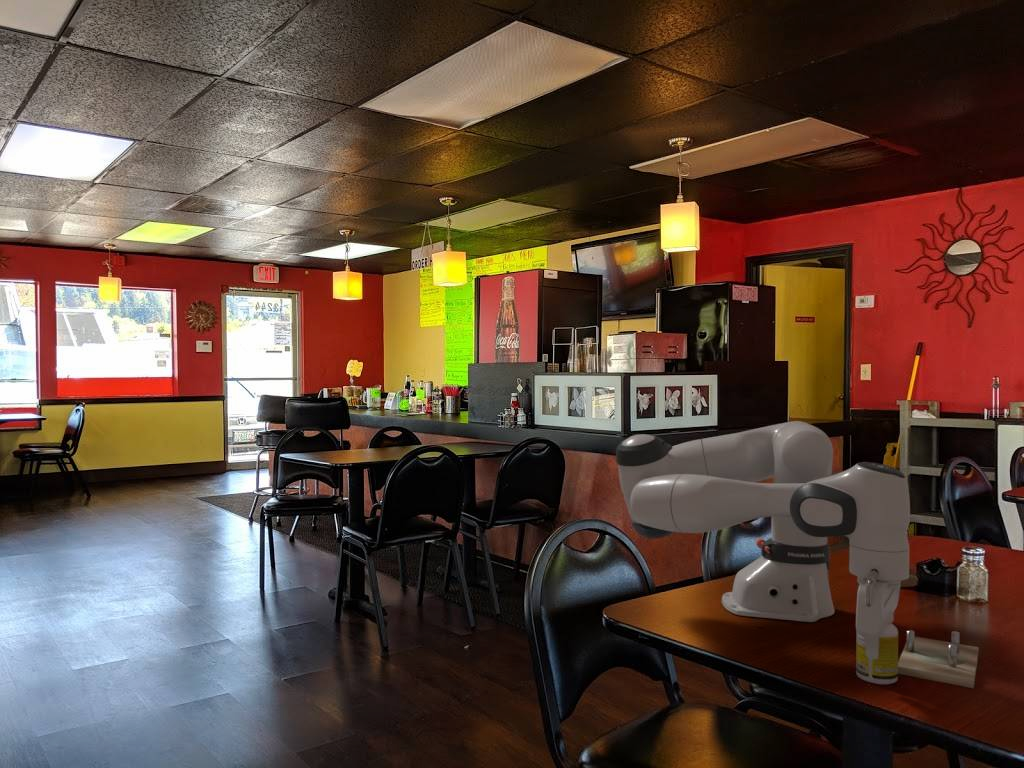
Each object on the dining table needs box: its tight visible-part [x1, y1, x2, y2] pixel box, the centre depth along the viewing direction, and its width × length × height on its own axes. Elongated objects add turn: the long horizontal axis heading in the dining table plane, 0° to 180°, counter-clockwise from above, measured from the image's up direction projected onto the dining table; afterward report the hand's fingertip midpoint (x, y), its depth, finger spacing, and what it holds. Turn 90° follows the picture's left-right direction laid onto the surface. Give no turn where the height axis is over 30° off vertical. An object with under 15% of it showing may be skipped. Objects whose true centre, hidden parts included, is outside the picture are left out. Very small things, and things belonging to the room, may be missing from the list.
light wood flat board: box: [898, 635, 979, 689], centre depth 134 cm, size 18×11×1 cm, turn 147°
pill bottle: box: [855, 611, 899, 685], centre depth 127 cm, size 6×6×11 cm
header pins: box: [905, 629, 961, 667], centre depth 135 cm, size 9×8×4 cm
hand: (877, 648), depth 127 cm, fingers open, 8 cm apart
